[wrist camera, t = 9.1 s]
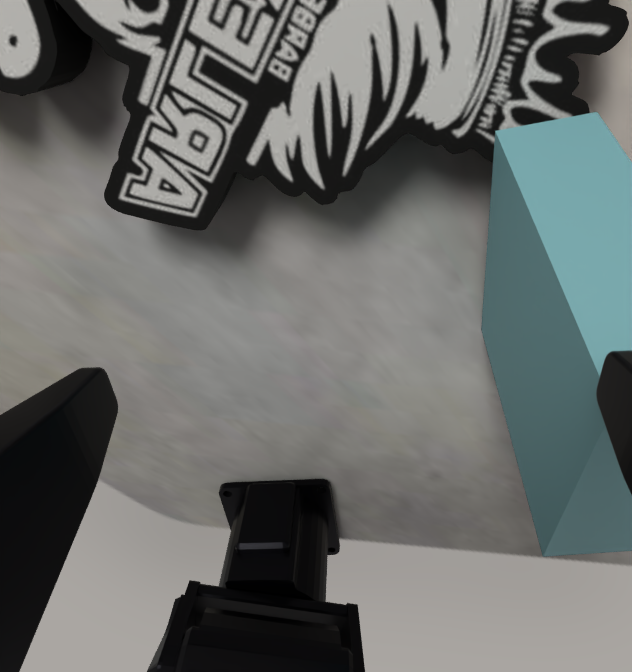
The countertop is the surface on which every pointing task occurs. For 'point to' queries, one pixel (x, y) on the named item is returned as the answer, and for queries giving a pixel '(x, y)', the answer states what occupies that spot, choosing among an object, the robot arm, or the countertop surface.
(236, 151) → the sign
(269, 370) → the countertop surface
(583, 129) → the block
